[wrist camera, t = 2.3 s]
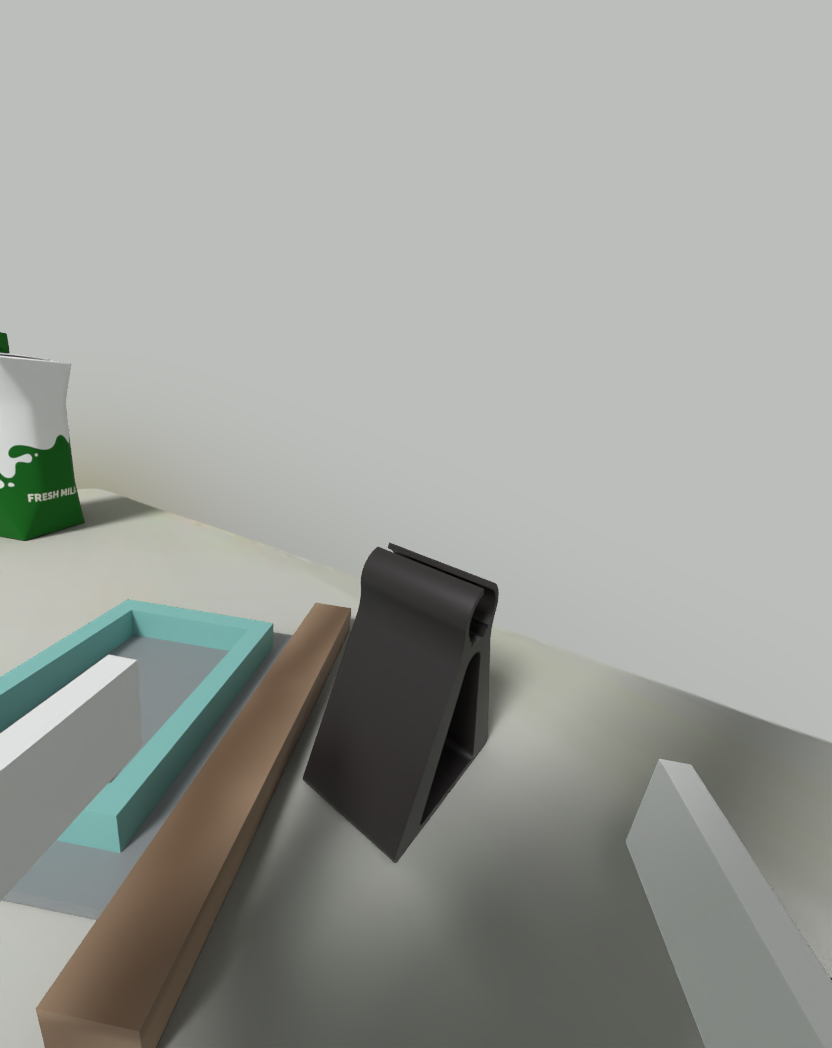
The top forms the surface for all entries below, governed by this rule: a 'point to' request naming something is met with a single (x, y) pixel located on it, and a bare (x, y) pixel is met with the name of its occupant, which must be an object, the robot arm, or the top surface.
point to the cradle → (167, 734)
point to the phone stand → (406, 697)
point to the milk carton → (35, 447)
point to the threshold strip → (189, 862)
